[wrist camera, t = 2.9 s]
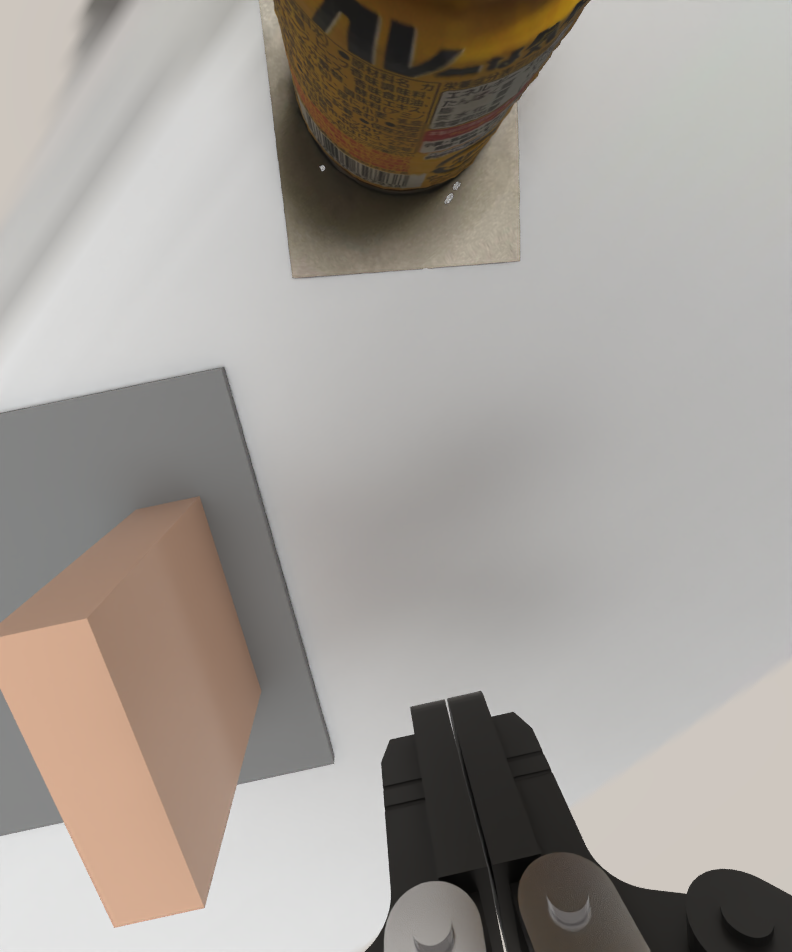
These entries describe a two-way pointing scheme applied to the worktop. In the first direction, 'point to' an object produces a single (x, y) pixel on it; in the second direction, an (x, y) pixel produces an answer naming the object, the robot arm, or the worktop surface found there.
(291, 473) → the worktop surface
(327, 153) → the condiment
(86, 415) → the mat
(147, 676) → the tile
